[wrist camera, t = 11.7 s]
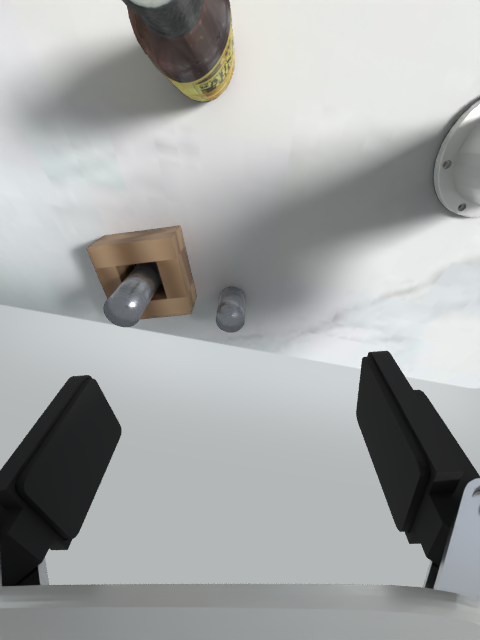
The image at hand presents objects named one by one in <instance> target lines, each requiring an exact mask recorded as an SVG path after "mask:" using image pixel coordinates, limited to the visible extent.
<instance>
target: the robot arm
mask: <svg viewBox="0 0 480 640" xmlns="http://www.w3.org/2000/svg"><path fill="white" fill-rule="evenodd" d="M444 162H445V164H444ZM443 164H444V165H443ZM434 185H435V191H436V193H437V196H438V198H439V200H440V201H441V203H442V204H443V205H444V206H445V207H446V208H447V209H449V210H450V211H452V212H454V213H456V214H458V215H462V216H465V217H471V218H480V100H479V101H477V102H476V103H475V104H473V105H472V106H471V107H470V108H469V109H468V110H467V111H466V112H465V113H464V114H463V115H462V116H461V117H460V118H459V119H458V120H457V122H456V123H455V124H454V125H453V127H452V128H451V129H450V131H449V133H448V134H447V136H446V138H445V139H444V141H443V143H442V145H441V148H440V150H439V153H438V155H437V159H436V163H435V167H434ZM356 415H357V421H358V424H359V427H360V429H361V432H362V435H363V437H364V440H365V443H366V446H367V448H368V451H369V454H370V456H371V459H372V462H373V464H374V467H375V470H376V473H377V475H378V478H379V481H380V484H381V486H382V489H383V492H384V495H385V497H386V500H387V503H388V506H389V508H390V511H391V514H392V516H393V519H394V522H395V524H396V527H397V529H398V530H399V531H400V532H402V531H403V532H404V531H405V534H406V536H407V539H408V542H409V544H418V543H419V544H420V543H421V545H422V547H423V550H424V552H425V555H426V557H427V558H428V559H430V560H431V562H430V565H429V568H428V572H427V575H426V579H425V582H424V585H423V588H421V587H408V586H395V585H354V584H120V585H119V584H117V585H116V584H113V585H49V581H48V575H47V568H46V562H45V555H46V553H47V551H48V549H49V548H50V549H51V550H68V548H69V545H70V543H71V541H72V539H73V538H75V537H76V536H77V534H78V533H79V531H80V529H81V526H82V524H83V522H84V519H85V517H86V515H87V512H88V510H89V508H90V506H91V503H92V501H93V499H94V496H95V494H96V492H97V489H98V487H99V485H100V483H101V480H102V478H103V476H104V473H105V471H106V469H107V466H108V464H109V462H110V459H111V457H112V455H113V452H114V450H115V448H116V446H117V443H118V441H119V439H120V436H121V426H120V424H119V422H118V420H117V419H116V417H115V415H114V413H113V411H112V409H111V407H110V406H109V404H108V402H107V400H106V398H105V396H104V394H103V392H102V391H101V389H100V387H99V385H98V383H97V381H96V380H95V379H92V378H91V376H89V375H84V376H73V377H70V378H69V379H68V381H67V382H66V383H65V385H64V386H63V387H62V389H61V390H60V391H59V393H58V394H57V395H56V397H55V398H54V399H53V401H52V402H51V403H50V405H49V406H48V407H47V409H46V410H45V411H44V413H43V414H42V415H41V417H40V418H39V419H38V421H37V422H36V423H35V425H34V426H33V428H32V429H31V430H30V431H29V433H28V434H27V435H26V437H25V438H24V439H23V441H22V442H21V444H20V445H19V446H18V448H17V449H16V450H15V452H14V453H13V454H12V456H11V457H10V458H9V460H8V461H7V462H6V464H5V465H4V466H3V468H2V469H1V470H0V640H480V476H479V474H478V473H477V471H476V470H475V468H474V467H473V466H472V464H471V462H470V461H469V459H468V458H467V456H466V455H465V453H464V452H463V450H462V449H461V447H460V446H459V444H458V443H457V441H456V440H455V438H454V437H453V435H452V434H451V432H450V431H449V429H448V428H447V426H446V425H445V423H444V422H443V420H442V419H441V417H440V416H439V414H438V413H437V411H436V410H435V408H434V407H433V405H432V404H431V402H430V401H429V399H428V398H427V396H426V395H425V394H424V392H422V391H421V390H413V389H412V387H411V386H410V384H409V382H408V381H407V379H406V378H405V376H404V374H403V373H402V371H401V370H400V368H399V367H398V365H397V363H396V362H395V360H394V359H393V357H392V355H391V354H390V353H389V352H388V351H378V352H369V353H368V356H367V357H363V358H362V365H361V375H360V383H359V392H358V402H357V411H356Z"/></svg>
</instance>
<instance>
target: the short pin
mask: <svg viewBox="0 0 480 640" xmlns="http://www.w3.org/2000/svg"><path fill="white" fill-rule="evenodd" d="M244 319H245V296H244V294H243V292H242V291H241V290H240V289H238V288H236V287H228V288H226V289H224V290H223V291H222V292H221V294H220V299H219V305H218V311H217V317H216V323H217V325H218V327H219V328H220V329H221V330H223V331H225V332H236V331H238V330H240V329H241V328H242V327H243V325H244Z"/></svg>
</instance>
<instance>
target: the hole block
mask: <svg viewBox="0 0 480 640" xmlns="http://www.w3.org/2000/svg"><path fill="white" fill-rule="evenodd" d="M86 249H87V251H88V253H89V256H90V258H91V260H92V263H93V265H94V268H95V270H96V272H97V275H98V277H99V280H100V282H101V284H102V287H103V289H104V292H105V294H106V296H107V299H109V297H110V296H111V295H112V294H113V293H114V292H115V290H116V289H117V288H118V287H119V286H120V285H121V283H122V282H123V281H124V280H125V279H126V278H127V276H128V275H129V274H130V273H131V272H132V271H133V269H134V268H135V267H134V264H138V263H147V262H155V261H156V263H157V266H158V269H159V273H160V276H161V279H162V283H163V284H160V285H159V287H158V288H157V290H156V292H155V293H154V295H153V297H152V298H151V300H150V302H149V304H148V305H147V307H146V309H145V310H144V312H143V314H142V315H141V317H140V319H148V318H158V317H167V316H177V315H187V314H191V313H192V310H193V307H194V303H195V300H196V297H197V295H196V291H195V286H194V282H193V278H192V274H191V269H190V265H189V261H188V257H187V252H186V248H185V244H184V240H183V235H182V231H181V227H180V226H174V227H166V228H158V229H151V230H143V231H135V232H128V233H120V234H112V235H105V236H103V237H102V238H100V239H99V240H97V241H96V242H95V243H93V244H92V245H90V246H89V247H88V248H86Z"/></svg>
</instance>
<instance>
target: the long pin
mask: <svg viewBox="0 0 480 640" xmlns="http://www.w3.org/2000/svg"><path fill="white" fill-rule="evenodd" d="M161 282H162V279H161V276H160V273H159V269H158V266H157V263H156V261H155V262H147V263H139V264H138V265H137V266H136V267H135V268H134V269H133V271H132V272H131V273H130V274H129V275H128V276H127V278H126V279H125V280H124V281H123V282H122V283H121V285H120V286H119V287H118V288H117V289H116V290H115V292H114V293H113V294H112V295H111V296H110V297H109V299H108V300H107V301H106V302H105V304H104V313H105V315H106V317H107V318H108V319H109V320H110V321H111V322H112V323H113V324H115V325H117V326H121V327H130V326H133V325H135V324H136V323H137V322H138V320H139V319H140V317H141V315H142V314H143V312H144V310H145V309H146V307H147V305H148V304H149V302H150V300H151V298H152V297H153V295H154V293H155V292H156V290H157V288H158V287H159V285H160V283H161Z"/></svg>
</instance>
